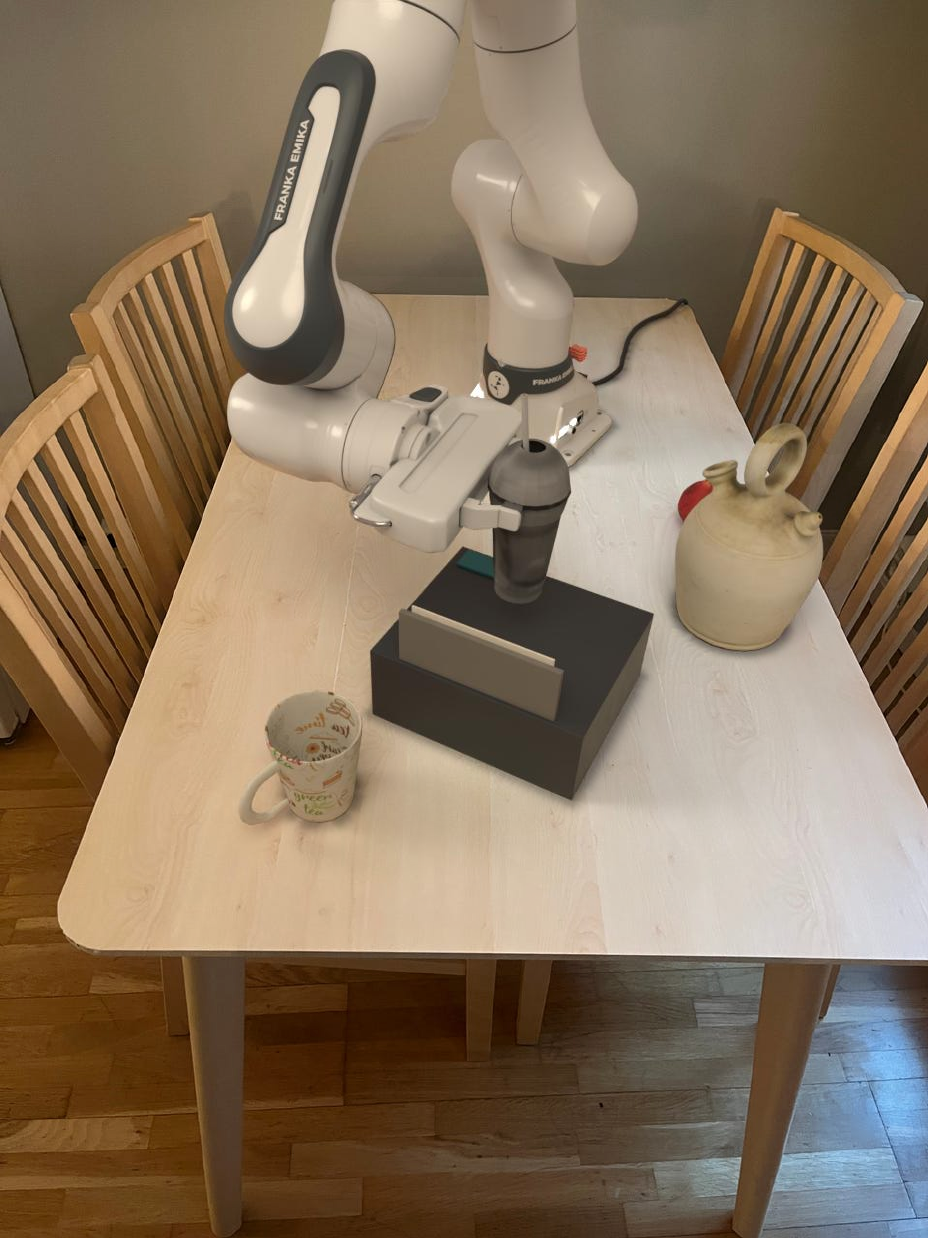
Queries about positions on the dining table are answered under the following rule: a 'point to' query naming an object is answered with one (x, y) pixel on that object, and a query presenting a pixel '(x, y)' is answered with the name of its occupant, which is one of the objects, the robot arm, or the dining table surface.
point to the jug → (749, 549)
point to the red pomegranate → (693, 497)
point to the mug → (309, 757)
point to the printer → (510, 671)
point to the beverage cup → (527, 513)
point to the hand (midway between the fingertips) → (538, 493)
